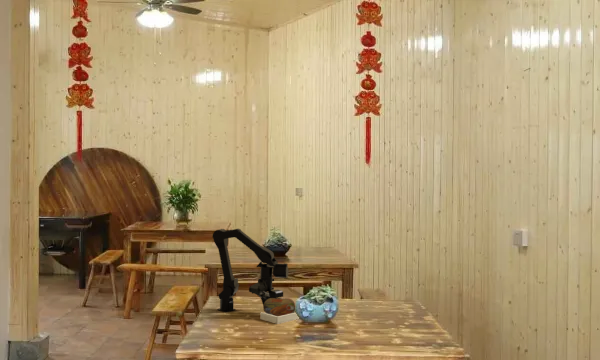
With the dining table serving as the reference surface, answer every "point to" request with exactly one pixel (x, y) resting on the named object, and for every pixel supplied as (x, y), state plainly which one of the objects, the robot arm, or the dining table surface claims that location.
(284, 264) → the robot arm
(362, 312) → the dining table surface
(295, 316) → the shelf slot
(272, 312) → the tin
